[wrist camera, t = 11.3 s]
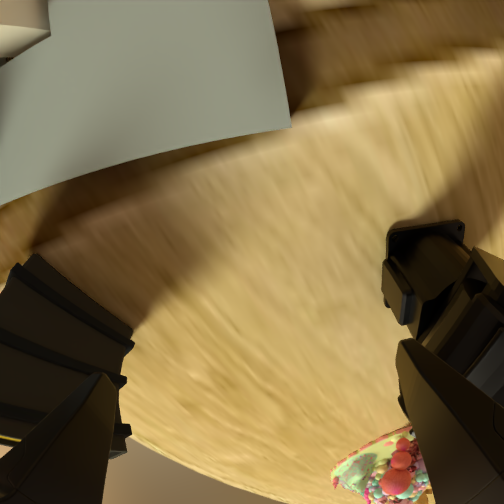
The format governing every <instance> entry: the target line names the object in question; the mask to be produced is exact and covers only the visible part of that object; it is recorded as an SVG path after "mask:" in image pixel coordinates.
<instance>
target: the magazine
mask: <svg viewBox="0 0 504 504" xmlns="http://www.w3.org/2000/svg"><path fill="white" fill-rule="evenodd" d="M132 334H133V330H132V329H131V328H130V327H129V326H127V325H126V324H124V323H123V322H122V321H120V320H119V319H117V318H116V317H115V316H113V315H112V314H111V313H109V312H108V311H106V310H105V309H104V308H102V307H101V306H100V305H99V304H97V303H96V302H95V301H93V300H92V299H91V298H89V297H88V296H87V295H86V294H84V293H83V292H82V291H80V290H79V289H78V288H77V287H75V286H74V285H73V284H72V283H71V282H69V281H68V280H67V279H66V278H64V277H63V276H62V275H61V274H60V273H58V272H57V271H56V270H55V269H54V268H53V267H51V266H50V265H49V264H48V263H47V262H46V261H44V260H43V259H42V258H41V257H40V256H39V255H38V254H36V253H35V254H33V255H32V256H31V257H30V258H29V259H28V260H27V261H26V262H25V263H24V265H23V266H22V265H21V264H19V263H16V264H15V266H14V267H13V268H12V269H11V270H10V273H9V276H8V279H7V282H6V285H5V288H4V289H3V290H2V292H1V293H0V445H4V446H9V447H14V446H15V445H17V444H18V443H19V442H20V441H21V440H22V439H23V438H24V437H26V435H27V434H28V433H29V432H30V431H31V430H32V429H33V428H34V427H36V426H37V425H38V424H39V423H40V422H41V421H42V420H43V419H44V418H45V417H46V416H47V415H48V414H49V413H50V412H51V411H52V410H54V409H55V408H56V407H57V406H58V405H59V404H60V403H61V402H62V401H63V400H64V399H65V398H66V397H67V396H68V395H70V394H71V393H72V392H73V391H74V390H75V389H76V388H77V387H78V386H79V385H80V384H81V383H82V382H84V381H85V380H86V379H87V378H88V377H89V376H90V375H91V374H92V373H95V372H100V373H105V374H106V375H107V376H108V378H109V379H110V381H111V382H112V384H113V385H114V387H115V388H116V391H117V399H116V409H115V419H114V430H113V437H112V443H111V448H110V454H109V459H114V458H116V457H118V456H120V455H122V454H125V453H127V448H126V443H125V438H127V437H128V436H130V435H132V431H131V426H130V424H123V423H122V421H121V415H120V408H119V389H121V388H122V387H123V386H124V385H125V384H126V383H127V377H126V376H123V375H120V373H121V367H122V362H123V359H124V356H125V355H126V354H128V353H129V352H130V351H131V350H132V349H133V347H134V345H135V342H133V341H132V340H130V339H131V336H132Z"/></svg>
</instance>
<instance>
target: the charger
mask: <svg viewBox="0 0 504 504" xmlns="http://www.w3.org/2000/svg"><path fill="white" fill-rule="evenodd" d="M50 36H51V30H50V21H49V12H48V1H47V0H0V58H3V57H17V56H18V55H20V54H21V53H23V52H25V51H26V50H28V49H29V48H31V47H33V46H34V45H36V44H38V43H39V42H41V41H43V40H45V39H46V38H48V37H50Z"/></svg>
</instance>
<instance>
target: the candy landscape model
mask: <svg viewBox="0 0 504 504" xmlns="http://www.w3.org/2000/svg"><path fill="white" fill-rule="evenodd" d="M411 428H412V426H410V427H407V428H403V429H400V430H396V431H393V432H392V433H390V434H388V435H384V436H381V437H379V438H378V439H376V440H375V441H372V442H370V443H368V444H366V445H364V446H363V447H361V448H360V449H359V450H357V451H355V452H353V453H351V454H349V455H348V456H347V457H346V458H344V459H343V460H341V461H339V462H338V463H337V465H336V466H335V467H334V468H333V469H331V472H330V473H331V482H334V483H333V486H334V487H335V488H336V487H337V484H341V485H342V486H343V488H344V489H348V490H350V491H351V490H352V492H353V491H354V492H355V493H357V492H358V493H359V494H360V495H362V496H363V498H364V499H366V500H367V502H368V503H367V504H428V497H427V495H426V494H432V488H431V484H430V481H429V478H428V474H427V471H426V468H425V464H424V461H423V458H422V455H421V452H420V449H419V445H418V442H417V439H416V438H414V437H413V436H411V435H410V434H409V430H410V429H411Z"/></svg>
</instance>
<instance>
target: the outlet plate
mask: <svg viewBox="0 0 504 504" xmlns="http://www.w3.org/2000/svg"><path fill="white" fill-rule="evenodd" d="M47 1H48V12H49V21H50V30H51V36H50V37H48V38H46V39H45V40H43V41H41V42H39V43H38V44H36V45H34V46H33V47H31V48H29V49H28V50H26V51H25V52H23V53H21V54H20V55H18V56H17V57H15V58H14V59H12V60H11V61H9V62H8V63H7V61H6V57H3V58H0V205H2V204H5V203H7V202H9V201H12V200H14V199H17V198H19V197H22V196H25V195H27V194H30V193H32V192H35V191H38V190H40V189H43V188H46V187H49V186H51V185H54V184H57V183H60V182H63V181H66V180H69V179H72V178H75V177H78V176H81V175H84V174H87V173H90V172H93V171H97V170H100V169H103V168H107V167H110V166H113V165H117V164H120V163H124V162H127V161H131V160H135V159H138V158H142V157H146V156H150V155H154V154H158V153H162V152H166V151H170V150H174V149H178V148H183V147H187V146H192V145H196V144H201V143H206V142H211V141H216V140H221V139H226V138H231V137H237V136H242V135H248V134H254V133H260V132H266V131H272V130H279V129H286V128H292V125H291V119H290V113H289V107H288V101H287V95H286V89H285V83H284V78H283V72H282V67H281V61H280V56H279V51H278V46H277V41H276V36H275V31H274V26H273V21H272V16H271V12H270V7H269V2H268V0H47Z"/></svg>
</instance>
